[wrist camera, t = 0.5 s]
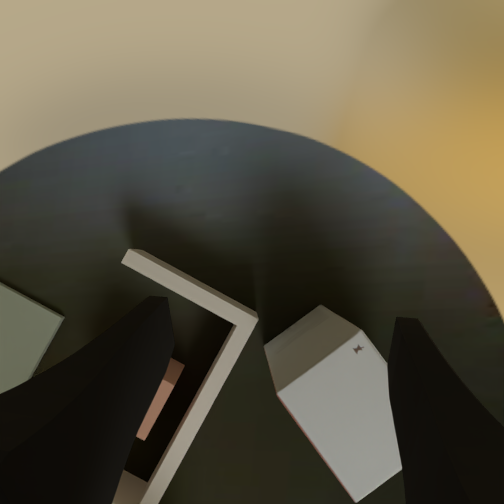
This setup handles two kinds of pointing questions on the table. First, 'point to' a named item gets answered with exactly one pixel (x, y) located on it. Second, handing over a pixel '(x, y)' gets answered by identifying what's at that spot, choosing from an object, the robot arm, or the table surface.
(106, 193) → the table surface
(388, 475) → the small box
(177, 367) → the block
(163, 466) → the u-shaped wall
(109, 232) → the table surface
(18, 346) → the mat
